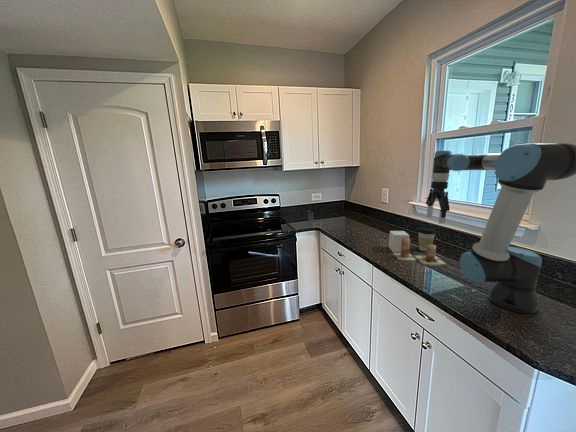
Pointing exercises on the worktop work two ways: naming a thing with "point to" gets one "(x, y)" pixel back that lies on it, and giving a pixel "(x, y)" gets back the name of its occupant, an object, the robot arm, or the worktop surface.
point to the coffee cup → (425, 237)
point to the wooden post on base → (404, 251)
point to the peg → (430, 253)
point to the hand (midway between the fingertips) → (435, 220)
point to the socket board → (437, 262)
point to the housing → (396, 240)
